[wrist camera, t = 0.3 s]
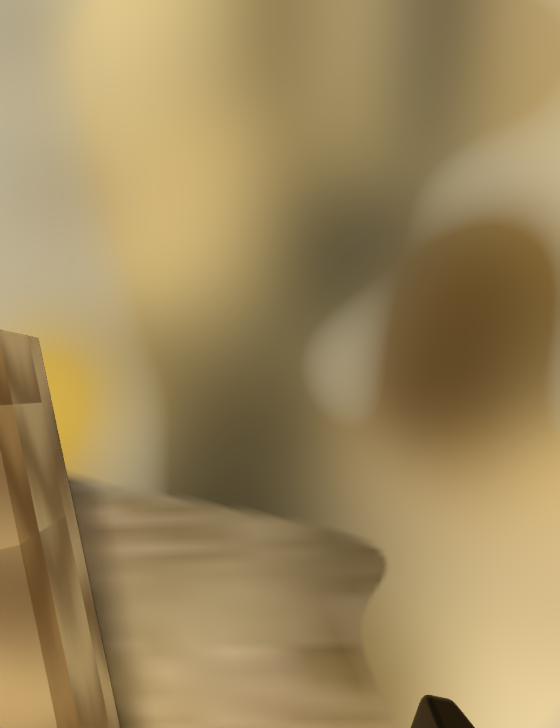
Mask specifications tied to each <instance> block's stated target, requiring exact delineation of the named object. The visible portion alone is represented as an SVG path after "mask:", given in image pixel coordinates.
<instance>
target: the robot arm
mask: <svg viewBox="0 0 560 728" xmlns="http://www.w3.org/2000/svg"><path fill="white" fill-rule="evenodd" d="M411 728H475V727H474V726H473V725H472V724H471V722H470V721H469V720H468V719H467V717H466V716H465V715H464V714H463V712H462V711H461V710H460V709H459V708H458V706H457V705H456V704H455V703H454V702H453V701H452V700H449V699H447V698H442V697H437V696H432V695H425V696H424V697H423V698H422V700H421V701H420V703H419V706H418V709H417V712H416V715H415V717H414V720H413V723H412V726H411Z"/></svg>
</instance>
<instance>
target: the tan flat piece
mask: <svg viewBox="0 0 560 728" xmlns="http://www.w3.org/2000/svg"><path fill="white" fill-rule="evenodd" d="M0 728H120V725H119V720H118V715H117V710H116V706H115V701H114V696H113V691H112V687H111V682H110V677H109V672H108V667H107V663H106V658H105V653H104V648H103V644H102V639H101V634H100V629H99V625H98V620H97V615H96V610H95V606H94V601H93V596H92V591H91V587H90V582H89V577H88V572H87V568H86V563H85V558H84V553H83V549H82V544H81V539H80V534H79V529H78V525H77V520H76V515H75V510H74V506H73V501H72V496H71V491H70V487H69V482H68V477H67V472H66V468H65V463H64V458H63V453H62V449H61V444H60V439H59V434H58V430H57V426H56V420H55V415H54V411H53V406H52V401H51V396H50V392H49V387H48V383H47V377H46V372H45V368H44V363H43V358H42V353H41V349H40V344H39V340H38V338H36V337H31V336H27V335H22V334H17V333H13V332H8V331H4V330H0Z"/></svg>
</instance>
